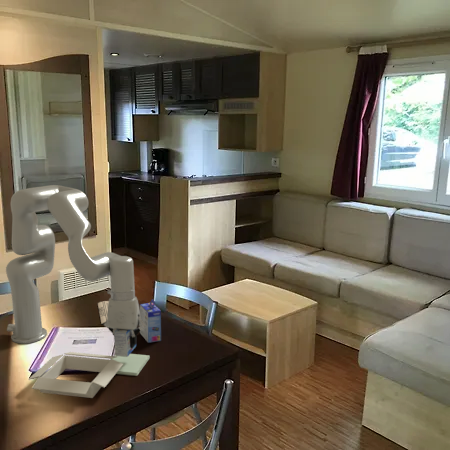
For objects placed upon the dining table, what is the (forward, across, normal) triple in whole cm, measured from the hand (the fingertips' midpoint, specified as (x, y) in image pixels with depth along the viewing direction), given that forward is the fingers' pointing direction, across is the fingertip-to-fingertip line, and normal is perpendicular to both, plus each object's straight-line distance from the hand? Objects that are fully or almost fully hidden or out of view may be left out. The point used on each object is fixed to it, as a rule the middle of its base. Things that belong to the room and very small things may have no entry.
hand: (125, 345), depth 159 cm
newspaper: (+8, -26, +41) cm, 49 cm away
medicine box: (+2, 0, 0) cm, 2 cm away
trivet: (+7, 0, 0) cm, 7 cm away
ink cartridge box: (+7, +1, +22) cm, 23 cm away
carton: (+7, -11, -13) cm, 19 cm away
